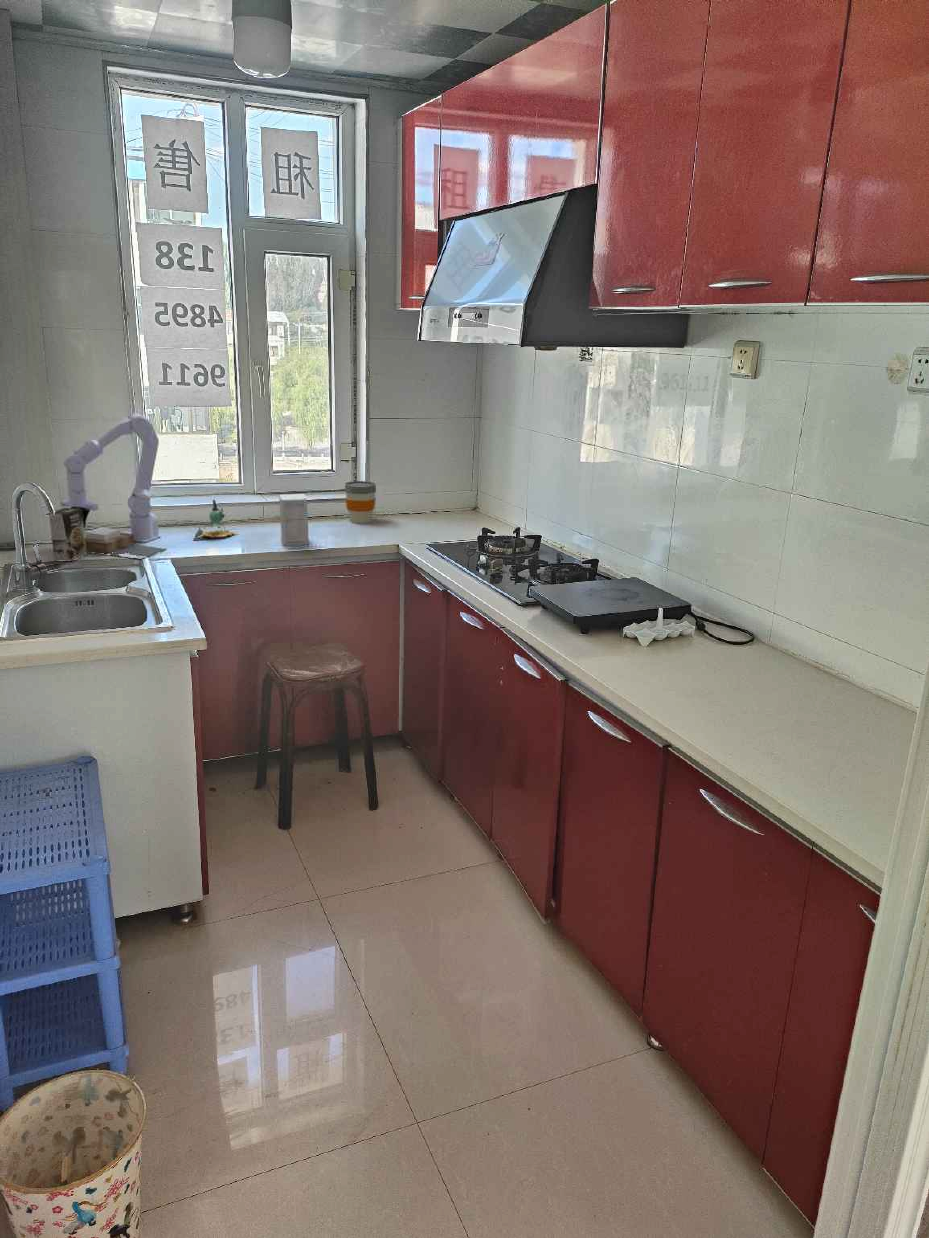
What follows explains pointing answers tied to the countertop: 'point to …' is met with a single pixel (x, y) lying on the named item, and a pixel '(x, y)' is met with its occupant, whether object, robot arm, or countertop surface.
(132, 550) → the mat
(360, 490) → the reusable coffee cup
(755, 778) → the countertop surface
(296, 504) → the supplement box
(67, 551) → the coffee box
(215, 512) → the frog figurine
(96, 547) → the flat brown box
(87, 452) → the robot arm
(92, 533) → the tile
